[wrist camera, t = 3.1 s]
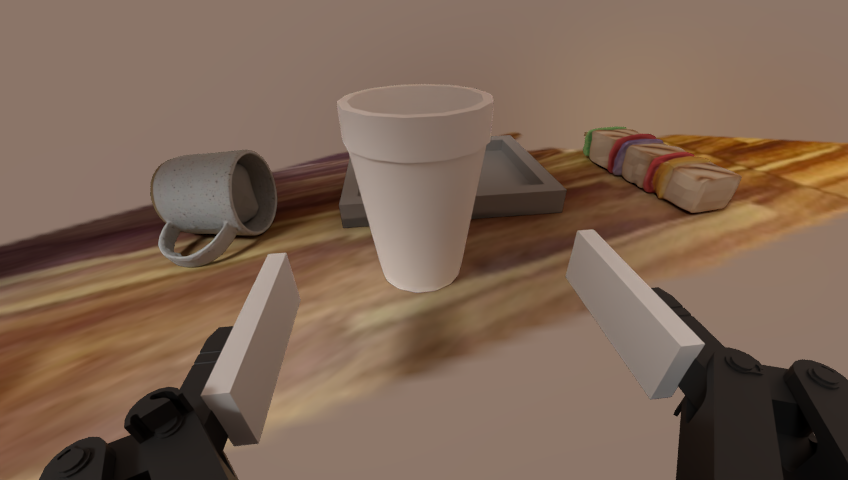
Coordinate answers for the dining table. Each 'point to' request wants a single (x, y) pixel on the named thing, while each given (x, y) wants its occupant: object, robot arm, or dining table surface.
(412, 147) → the foam cup
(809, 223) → the dining table surface
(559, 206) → the cafeteria tray
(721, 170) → the skewer
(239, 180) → the ceramic mug
